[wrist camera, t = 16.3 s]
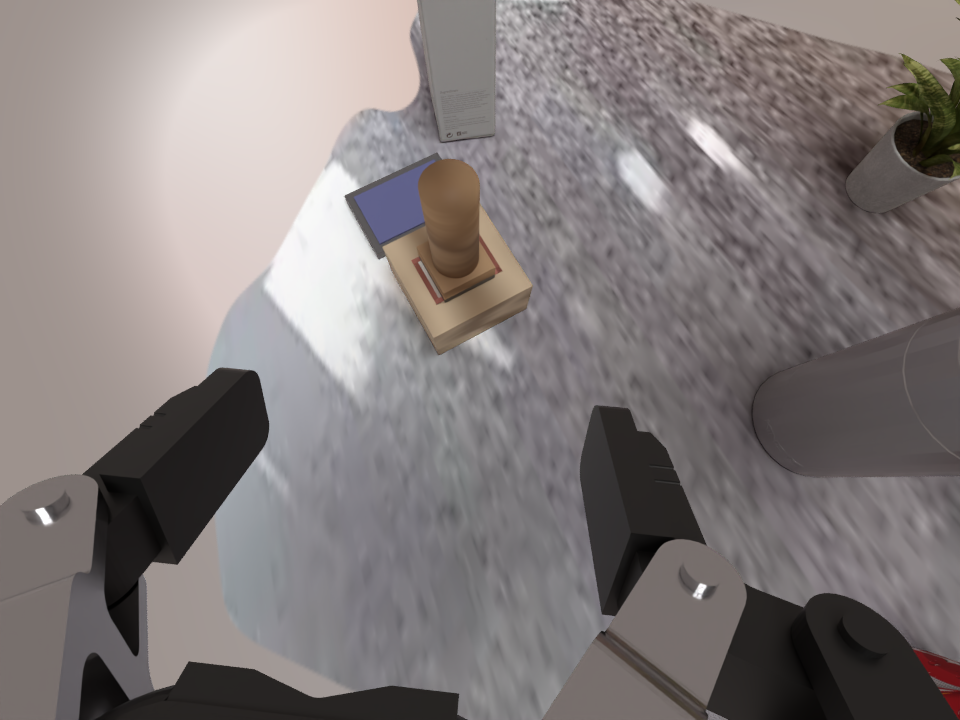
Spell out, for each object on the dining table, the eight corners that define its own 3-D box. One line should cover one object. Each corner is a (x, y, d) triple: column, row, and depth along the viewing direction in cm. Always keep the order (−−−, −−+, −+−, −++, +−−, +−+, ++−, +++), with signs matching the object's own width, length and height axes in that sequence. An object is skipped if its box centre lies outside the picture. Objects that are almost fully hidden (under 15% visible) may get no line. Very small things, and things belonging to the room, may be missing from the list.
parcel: (477, 231, 43) (477, 199, 38) (526, 308, 41) (532, 285, 36) (393, 273, 42) (381, 246, 37) (438, 355, 40) (433, 337, 35)
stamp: (467, 233, 37) (464, 141, 27) (494, 277, 36) (501, 198, 26) (419, 257, 37) (396, 172, 26) (445, 302, 36) (432, 232, 25)
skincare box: (495, 137, 46) (503, -20, 31) (436, 145, 46) (418, -10, 31) (482, 72, 48) (484, -103, 34) (426, 79, 48) (403, -94, 33)
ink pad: (438, 159, 45) (437, 151, 44) (472, 213, 43) (472, 206, 42) (347, 202, 44) (343, 194, 43) (378, 259, 42) (376, 252, 41)
